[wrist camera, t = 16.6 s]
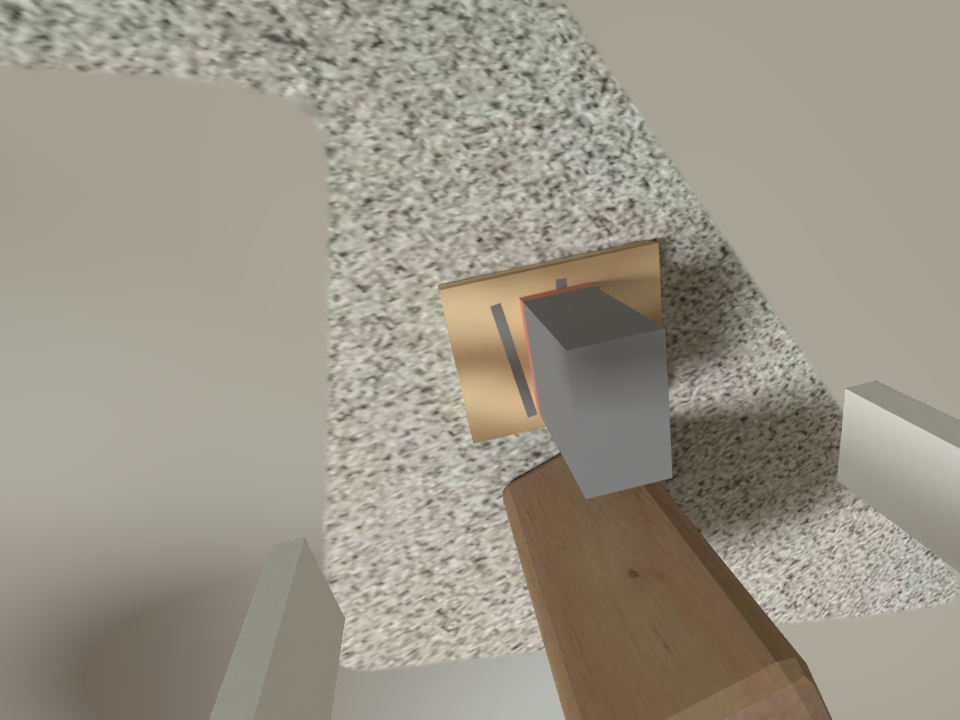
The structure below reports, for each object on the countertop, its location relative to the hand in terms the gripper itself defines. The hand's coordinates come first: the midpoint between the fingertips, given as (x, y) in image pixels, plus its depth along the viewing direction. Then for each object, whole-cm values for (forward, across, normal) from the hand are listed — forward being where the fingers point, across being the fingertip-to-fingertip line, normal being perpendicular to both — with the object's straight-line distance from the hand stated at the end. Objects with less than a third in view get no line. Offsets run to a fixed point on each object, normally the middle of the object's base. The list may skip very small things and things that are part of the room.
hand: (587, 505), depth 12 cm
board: (+21, +4, -5) cm, 22 cm away
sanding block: (+20, +4, -5) cm, 21 cm away
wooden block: (+21, +4, -18) cm, 28 cm away
